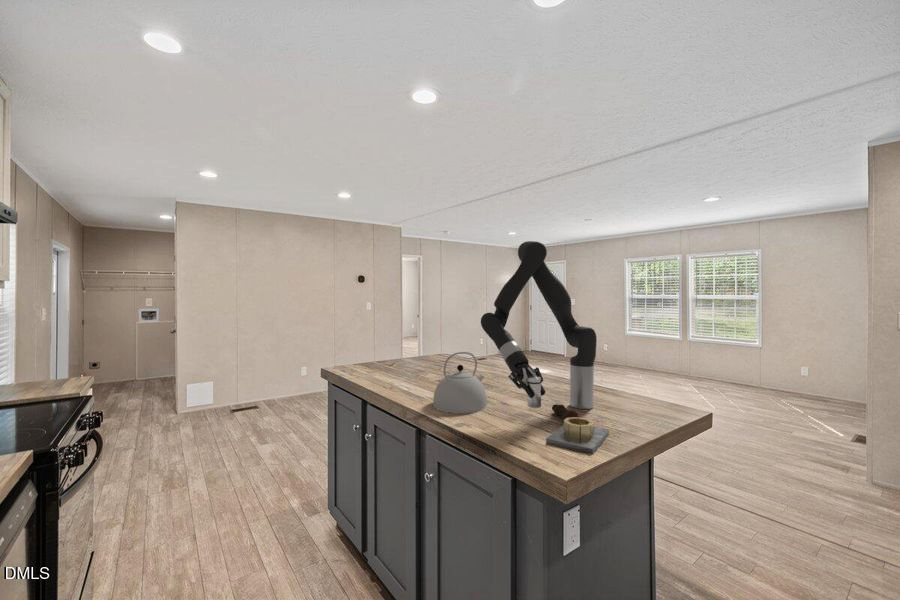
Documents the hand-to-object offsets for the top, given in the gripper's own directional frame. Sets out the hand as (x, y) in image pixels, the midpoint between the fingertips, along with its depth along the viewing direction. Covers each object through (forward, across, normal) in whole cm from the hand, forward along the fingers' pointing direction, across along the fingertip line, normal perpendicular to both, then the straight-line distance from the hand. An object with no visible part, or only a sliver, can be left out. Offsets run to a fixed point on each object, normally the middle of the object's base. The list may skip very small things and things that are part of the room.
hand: (538, 395), depth 133 cm
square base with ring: (+18, +3, -2) cm, 18 cm away
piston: (+2, 0, +4) cm, 5 cm away
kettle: (-19, -4, +36) cm, 40 cm away
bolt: (+7, +16, +10) cm, 20 cm away
